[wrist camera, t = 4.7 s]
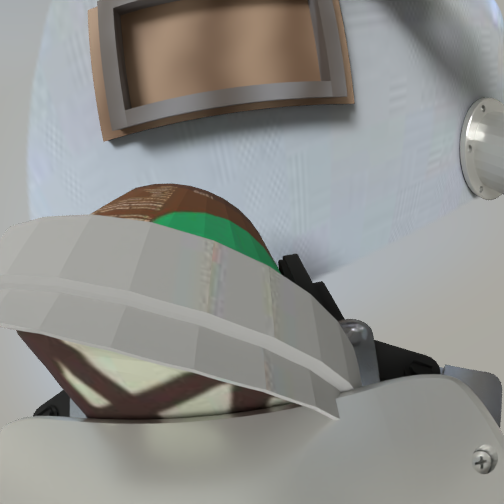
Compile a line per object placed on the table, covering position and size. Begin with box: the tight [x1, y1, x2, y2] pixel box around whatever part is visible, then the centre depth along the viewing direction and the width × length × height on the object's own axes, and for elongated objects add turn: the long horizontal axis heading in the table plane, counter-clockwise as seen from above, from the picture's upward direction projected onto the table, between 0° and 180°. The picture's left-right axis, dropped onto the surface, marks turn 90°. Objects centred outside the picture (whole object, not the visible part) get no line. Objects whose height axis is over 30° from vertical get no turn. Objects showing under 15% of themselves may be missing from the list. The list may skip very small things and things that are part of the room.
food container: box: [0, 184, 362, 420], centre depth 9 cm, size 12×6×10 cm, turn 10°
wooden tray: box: [88, 0, 354, 141], centre depth 17 cm, size 20×12×3 cm, turn 98°
